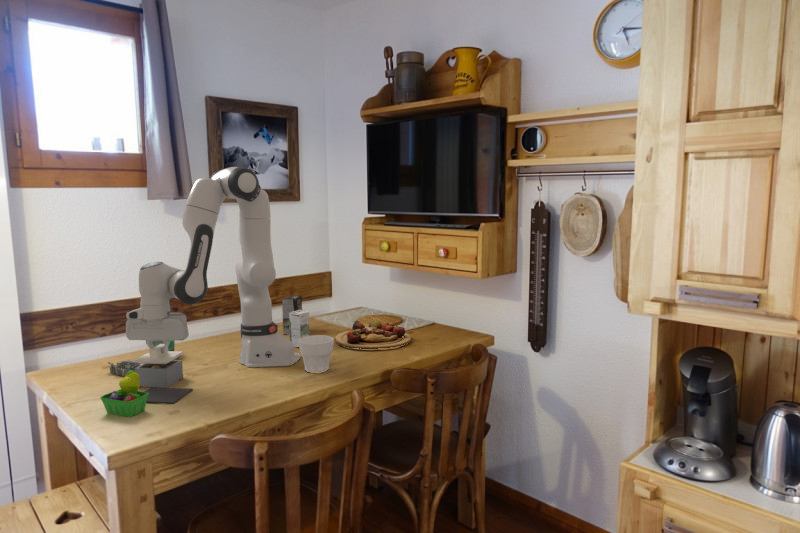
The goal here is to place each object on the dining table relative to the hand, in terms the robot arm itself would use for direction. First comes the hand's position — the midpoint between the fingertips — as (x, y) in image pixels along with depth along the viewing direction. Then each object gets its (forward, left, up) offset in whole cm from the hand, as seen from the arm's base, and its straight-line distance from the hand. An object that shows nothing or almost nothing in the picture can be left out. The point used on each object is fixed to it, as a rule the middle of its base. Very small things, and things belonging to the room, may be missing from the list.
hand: (159, 352), depth 189 cm
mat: (-8, +13, -10) cm, 18 cm away
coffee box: (-24, -70, -10) cm, 74 cm away
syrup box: (-34, -47, -10) cm, 59 cm away
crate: (0, 0, -10) cm, 10 cm away
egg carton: (+18, -9, -10) cm, 23 cm away
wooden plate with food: (-62, -58, -11) cm, 85 cm away
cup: (-49, -17, -10) cm, 53 cm away
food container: (+12, -27, -10) cm, 31 cm away
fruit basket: (-4, +26, -10) cm, 28 cm away
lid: (0, 0, -2) cm, 2 cm away
